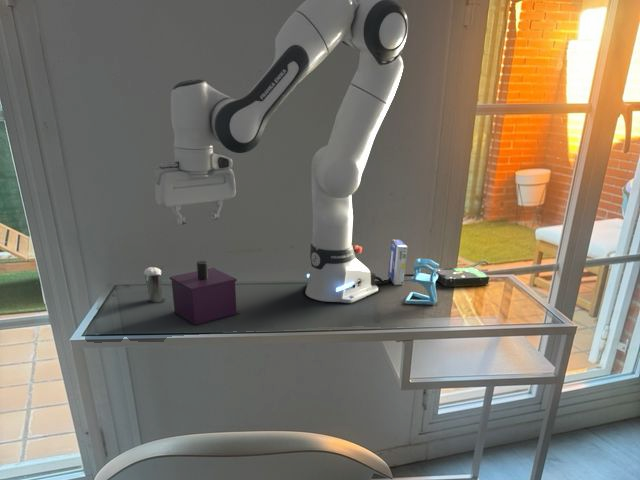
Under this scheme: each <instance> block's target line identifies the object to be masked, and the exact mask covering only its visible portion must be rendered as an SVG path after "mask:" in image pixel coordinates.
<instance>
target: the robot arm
mask: <svg viewBox="0 0 640 480" xmlns="http://www.w3.org/2000/svg"><path fill="white" fill-rule="evenodd" d="M408 18H409V17H408V15H407V13H406V11H405V9H404V8H403V7H402V6H401V5H400V4H399V3H397V2H396V1H394V0H304V1H303V2H302V3H301V4H300V5H299V6H298V7H297V8H296V9H295V11H293V13H292V14H291V15H290V16H289V17H288V18H287V19H286V21H285V22H284V23H283V25H282V27H281V28H280V30H279V31H278V33H277V34H276V36H275V38H274V39H275V40H274V50H275V51H274V53H275V55H274V59H273V62H272V63H271V65H270V67H269V68H268V69H267V71H266V72H265V73H264V74H263V75H262V77H261V78H260V79H259V80H258V81H257V82H256V84H255V85H254V86H253V87H252V89H251V90H249V91H248V93H247V94H245V95H244V96H242V97H241V98H234V97H231V96H229V95H226V94H225V93H223V92H221V91H219V90H217V89H215V88H214V87H213V86H211V85H210V84H208V83H207V82H206V80H203V79H197V78H196V79H189V80H184V81H180V82H178V83H176V84H175V85H174V86H173V88H172V89H171V93H170V118H171V126H172V130H173V134H174V139H173V140H174V141H173V152H174V154H173V155H174V161H171V162H160V163H159V164H158V165H156V167H155V168H154V169H153V175H154V181H155V185H154V186H155V187H154V188H155V189H154V190H155V192H154V193H155V194H154V195H155V196H154V197H155V202H156V203H157V204H158V205H159V206H161V207H163V208H170V209H171V211H172V213H173V214H174V216H175V217H176V223H177V225H179V226H184V225H186V224H187V221H186V220H187V219H186V216H184V215H182V214H181V212H180V211H181V210H182V207H181V206H186V205H195V204H205V203H211V202H213V204H214V207H213V210H212V211H210V219H211V220H213V221H217V220H220V217H221V216H220V213H221V211H222V208H223V205H224V201H226V200H233V199H234V198H235V197H236V194H237V186H236V185H237V184H236V177H235V173H234V170H233V169H232V167H233V165H234V163H233V159H232V157H231V158H230V157H228V156H225V155H222V154H220V153H218V152H214V143H216V142H218V143H219V142H220V143H221V145H222V146H223V147H224V148H226V149H227V150H228V151H230V152H232V153H236V154H244V153H248V152H250V151H252V150H254V148H256V147H257V146H258V144H259V143H260V141H261V139H262V137H263V135H264V131H265V128H266V126H267V124H268V122H269V120H270V119H271V117H272V116H273V115H274V113H275V112H276V111H277V110H278V108H279V107H280V106H281V105H282V104H283V103H284V101H286V99H287V98H288V97H289V95H290V94H291V93H292V92H293V91H294V89H295V88H296V87H297V86H298V85H299V83H301V82H302V81H303V80H304V79H305V78H306V77H307V76H308V75H309V74H311V73H312V72H314V70H315V69H316V68H317V67H318V66H319V65H320V64H321V63H322V62H323V61H324V60H325V59H326V58H327V57H328V56H329V55H330V54H331V53H332V51H334V49H335V48H336V47H337V46H338V45H339V44H341V43H342V44H344V45H345V46H348V47H351V48H353V49H354V50H356V51H359V60H358V66H357V69H356V71H355V73H354V75H353V77H352V79H351V82H350V84H349V86H348V88H347V90H346V93H345V95H344V97H343V99H342V101H341V104H340V107H339V108H338V111H337V112H336V115H335V120H334V122H333V123H334V124H333V127H332V130H331V133H330V136H329V140H328V142H327V145H324V146H322V147H320V148H319V149H318V150H316V152H315V153H314V155H313V157H312V160H311V165H310V166H311V167H310V168H311V171H310V172H311V173H310V174H311V176H310V177H311V179H310V180H311V206H312V207H311V208H312V230H311V231H312V232H311V233H312V234H311V235H312V238H311V240H312V241H311V244H310V248H309V249H310V250H309V258H310V266H309V273H307V274H306V277H307V278H308V280H307V285H306V288H305V291H304V294H305V295H306V296H307V297H308V298H310V299H313V300H316V301H321V302H328V303H344V304H352V303H355V302H357V301H359V300H362V299H363V298H366V297H367V296H370V295H372V294H375V293H377V292H378V291H379V287H378V285H376V280H378V282H380V284H388V283H390V282H392V281H391V277H390V278H389V277H388V279H386V280H383V279H382V278H381V277H380V276H376V273H374V272H371V271H370V269H369V268H368V266H366V265H365V264H363V263H362V262H361V261H360V260H359V259H357V257H356V254H359V255H360V254H361V253H362V252H363V247H362V246H360V245H357V244H356V245H353V244H352V240H353V225H354V223H353V222H354V214H353V202H352V201H353V200H352V199H353V197H352V195H353V194H354V193H355V192H356V191H358V188H359V186H360V184H361V179H362V175H363V173H364V170H365V168H366V165H367V162H368V158H369V155H370V153H371V149H372V146H373V144H374V141H375V138H376V136H377V133H378V131H379V129H380V127H381V125H382V123H383V120H384V118H385V116H386V115H387V112H388V110H389V109H390V106H391V103H392V101H393V99H394V97H395V94H396V91H397V89H398V86H399V85H400V84H399V83H400V81H401V77H402V74H403V70H404V61H403V58H402V56H401V55H402V53H403V50H404V46H405V43H406V41H407V37H408V32H409V19H408ZM355 253H356V254H355ZM484 263H485V264H486V265H490V262H489V261H488V260H486V259H482V260H480V261H478V262H476V263H474V264H471V265H468V266H467V267H470V268H472V267H473V268H476V267H477V266H480V265H481V264H484ZM422 273H423V272H422ZM431 273H432V272H424V273H423V274H429V275H431ZM413 276H414V273H404V278H405V277H413Z"/></svg>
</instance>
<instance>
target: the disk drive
mask: <svg viewBox="0 0 640 480" xmlns="http://www.w3.org/2000/svg"><path fill="white" fill-rule="evenodd" d="M436 275H438V279H437V280H436V281H438V282H439V283H440V284H442V285H443V286H444V287H448V288H449V287H466V286H483V285H489V282H490V276H489V275H488V274H486V273H485V272H483V271H481V270H479V269H477V267H472V268H470V267H468V266H467V267H466V266H465V267H450V268H449V267H448V268H446V267H445V268H437V271H436Z"/></svg>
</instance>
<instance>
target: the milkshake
mask: <svg viewBox="0 0 640 480" xmlns="http://www.w3.org/2000/svg"><path fill="white" fill-rule="evenodd" d="M163 267H164V265H162V266H161V268H158V267H154V266H153V267H152V266H150V267H147V268H145V270H144V271H143V274H144V279H145V282H146V288H147V292H148V298H149V302H151V303H161V302H162V301H163V288H162V286H163V285H162V271H163Z"/></svg>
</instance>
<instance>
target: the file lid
mask: <svg viewBox="0 0 640 480" xmlns="http://www.w3.org/2000/svg"><path fill="white" fill-rule="evenodd" d="M169 280H171V282H172V281H174V282H176V283H178V284H180V285H182V286H183V287H185V288H187V289H189V290H191V291H195V290H199V289H204V288H208V287H213V286H217V285H222V284H226V283H231V282H235V283H236V282H237V281H238V280H237V278H235V277H233V276H231V275H229V274H227V273H225V272H223V271H221V270H219V269H217V268H215V267H212V268H208V262H207V261H206V260H198V261H197V262H196V271H192V272H186V273H182V274H181V273H180V274H177V275H172V276H171V275H170V276H169Z"/></svg>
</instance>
